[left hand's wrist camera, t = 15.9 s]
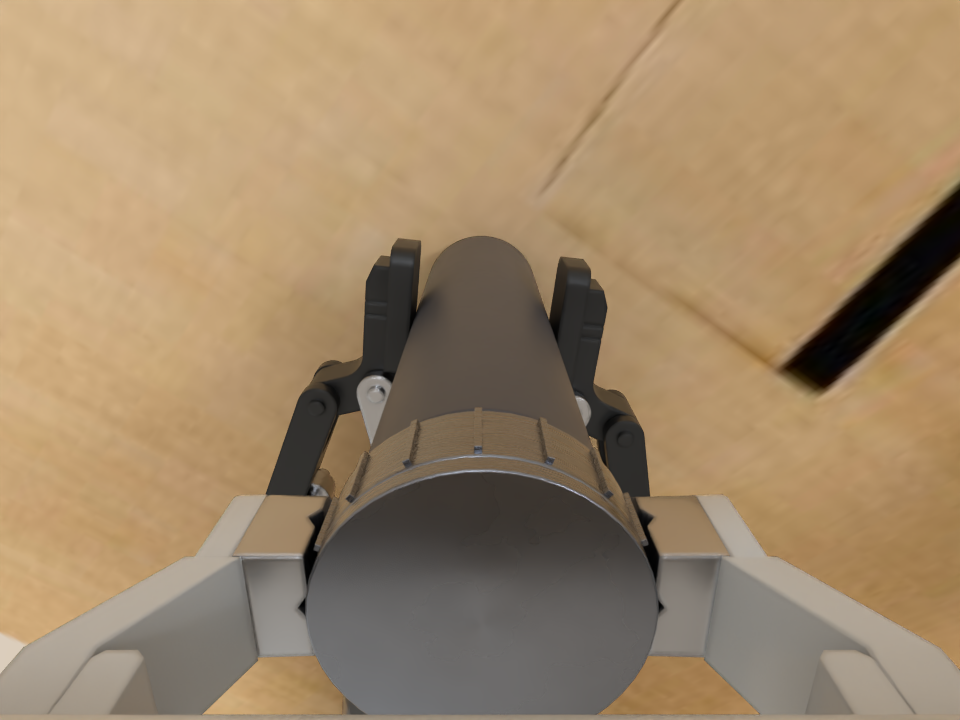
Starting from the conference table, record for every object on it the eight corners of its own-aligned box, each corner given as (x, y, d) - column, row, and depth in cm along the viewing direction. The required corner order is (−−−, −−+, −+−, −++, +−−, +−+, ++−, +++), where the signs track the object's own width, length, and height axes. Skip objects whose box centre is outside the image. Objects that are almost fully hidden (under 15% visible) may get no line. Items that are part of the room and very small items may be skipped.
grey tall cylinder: (554, 304, 26) (684, 623, 9) (466, 359, 26) (443, 738, 10) (496, 214, 24) (529, 400, 8) (406, 274, 25) (268, 555, 9)
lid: (610, 377, 9) (638, 431, 7) (650, 633, 11) (680, 723, 9) (289, 441, 9) (249, 507, 8) (377, 678, 11) (359, 773, 10)
